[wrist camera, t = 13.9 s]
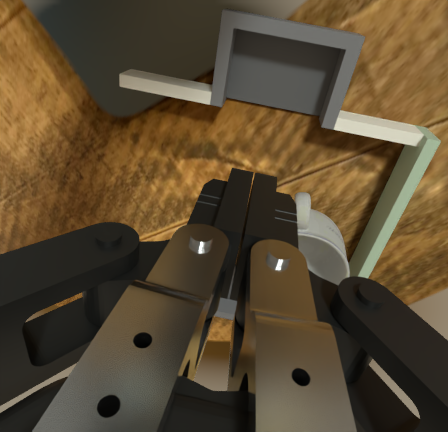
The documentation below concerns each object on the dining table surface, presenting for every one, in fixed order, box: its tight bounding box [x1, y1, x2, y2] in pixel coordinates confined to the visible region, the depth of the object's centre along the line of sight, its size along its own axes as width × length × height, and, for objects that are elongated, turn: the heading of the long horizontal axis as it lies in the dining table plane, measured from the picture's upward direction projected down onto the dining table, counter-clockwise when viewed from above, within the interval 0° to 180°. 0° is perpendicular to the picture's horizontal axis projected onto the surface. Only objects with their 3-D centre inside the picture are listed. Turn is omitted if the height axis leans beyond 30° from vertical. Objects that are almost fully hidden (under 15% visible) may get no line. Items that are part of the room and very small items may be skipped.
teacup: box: [294, 192, 350, 285], centre depth 40 cm, size 14×11×8 cm
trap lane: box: [119, 9, 441, 320], centre depth 41 cm, size 31×38×4 cm
